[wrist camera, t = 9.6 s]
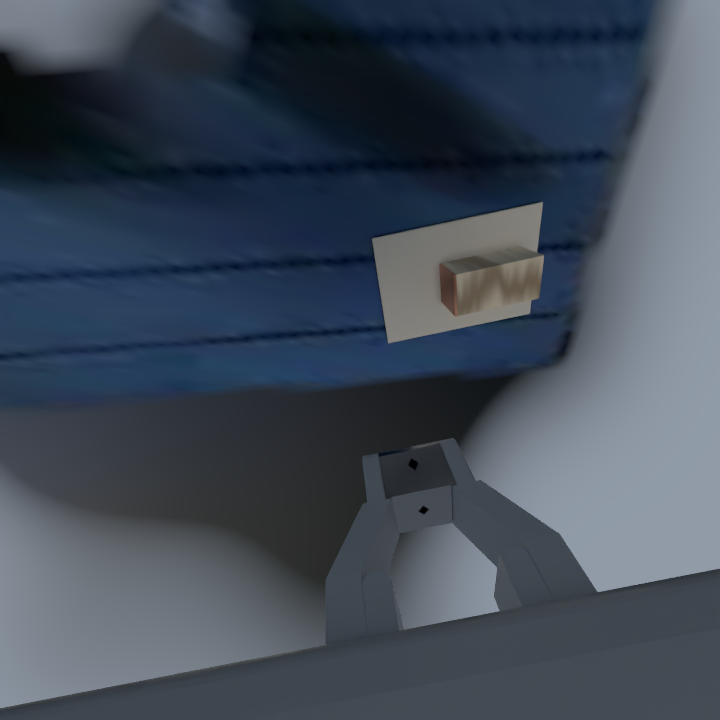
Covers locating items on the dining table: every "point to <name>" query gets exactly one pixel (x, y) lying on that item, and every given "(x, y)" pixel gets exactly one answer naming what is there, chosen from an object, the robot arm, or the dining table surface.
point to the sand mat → (422, 275)
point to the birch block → (490, 280)
